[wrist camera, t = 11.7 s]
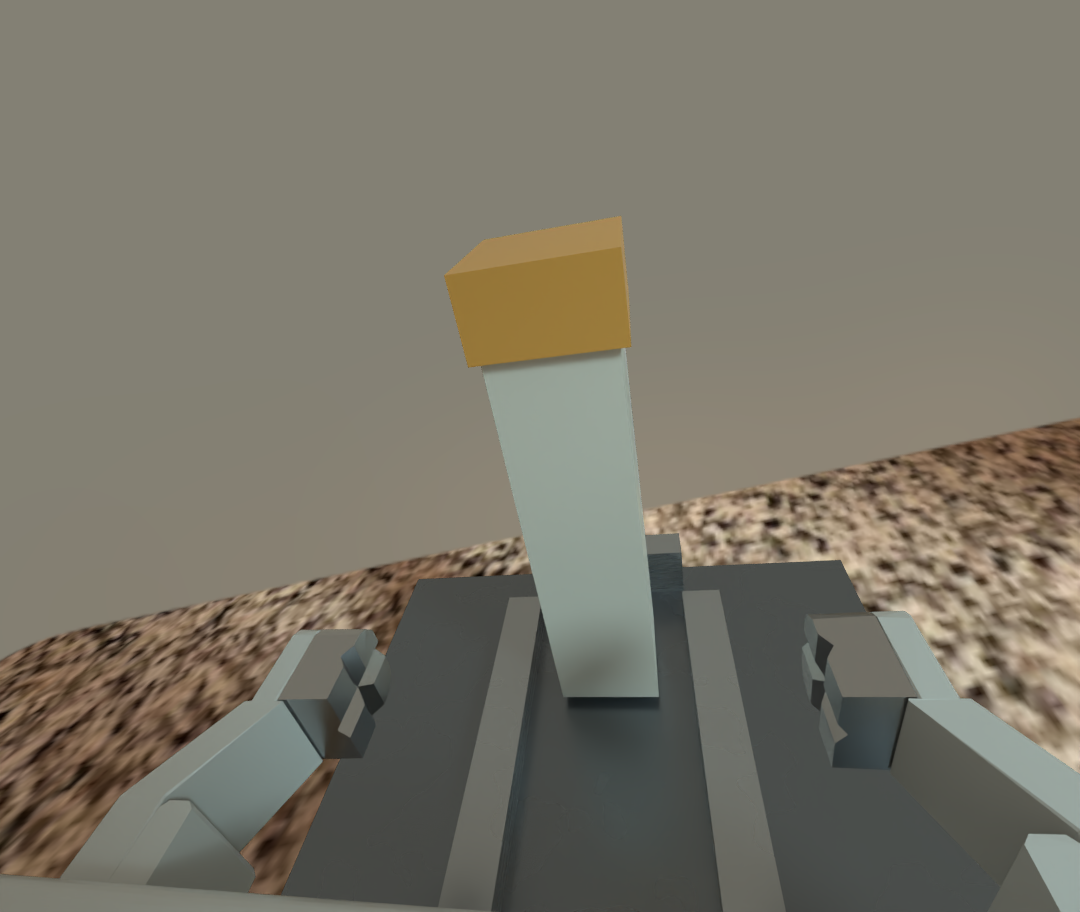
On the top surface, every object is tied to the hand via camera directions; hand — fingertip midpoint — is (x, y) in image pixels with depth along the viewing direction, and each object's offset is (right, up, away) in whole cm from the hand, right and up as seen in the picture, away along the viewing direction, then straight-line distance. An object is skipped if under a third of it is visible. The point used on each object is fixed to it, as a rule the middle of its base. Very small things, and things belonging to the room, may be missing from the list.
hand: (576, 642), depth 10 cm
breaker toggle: (+2, -3, +7) cm, 8 cm away
